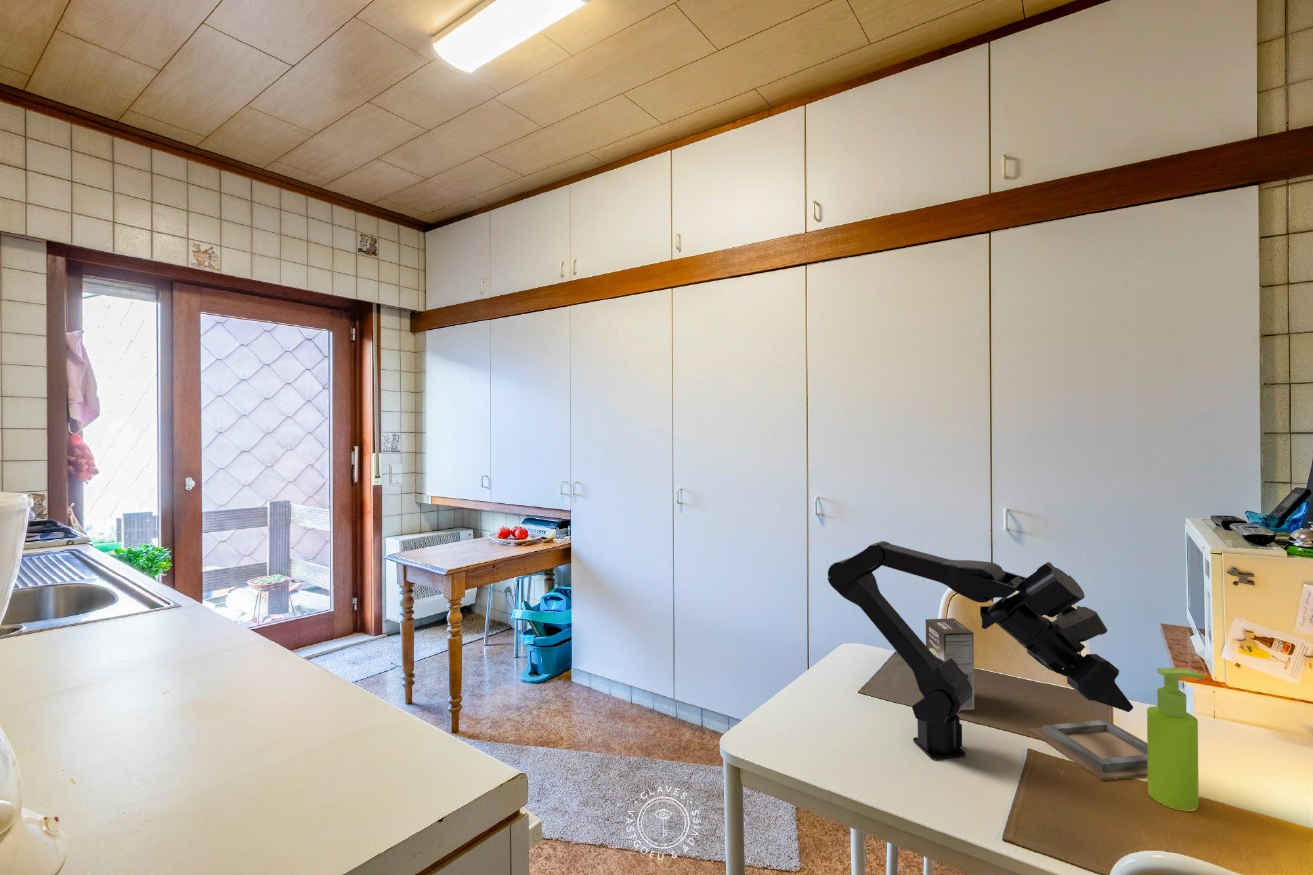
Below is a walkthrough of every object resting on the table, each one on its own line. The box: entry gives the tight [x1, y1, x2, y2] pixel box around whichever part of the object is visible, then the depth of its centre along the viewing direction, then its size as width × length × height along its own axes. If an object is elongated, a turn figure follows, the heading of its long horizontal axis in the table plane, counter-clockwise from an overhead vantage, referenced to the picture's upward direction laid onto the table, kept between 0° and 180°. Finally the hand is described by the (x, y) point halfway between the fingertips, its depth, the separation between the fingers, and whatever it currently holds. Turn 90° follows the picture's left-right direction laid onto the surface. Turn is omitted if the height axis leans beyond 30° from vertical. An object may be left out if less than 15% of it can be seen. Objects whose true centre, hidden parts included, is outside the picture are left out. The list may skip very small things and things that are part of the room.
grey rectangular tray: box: [1028, 719, 1148, 781], centre depth 106 cm, size 16×16×2 cm
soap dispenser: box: [1146, 667, 1206, 810], centre depth 91 cm, size 6×7×20 cm
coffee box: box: [925, 617, 975, 711], centre depth 126 cm, size 9×6×16 cm
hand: (1113, 697), depth 95 cm, fingers open, 9 cm apart
